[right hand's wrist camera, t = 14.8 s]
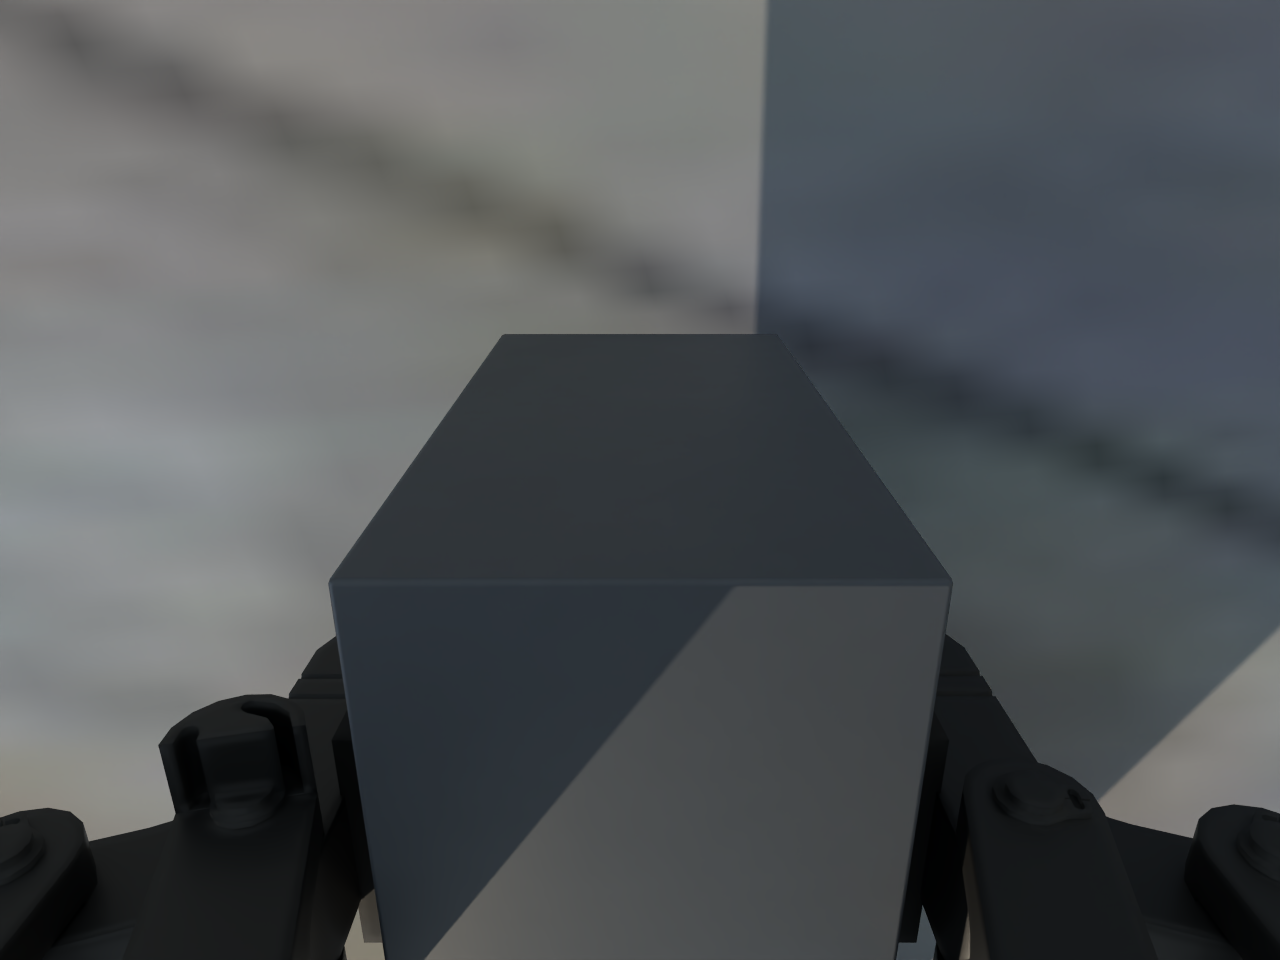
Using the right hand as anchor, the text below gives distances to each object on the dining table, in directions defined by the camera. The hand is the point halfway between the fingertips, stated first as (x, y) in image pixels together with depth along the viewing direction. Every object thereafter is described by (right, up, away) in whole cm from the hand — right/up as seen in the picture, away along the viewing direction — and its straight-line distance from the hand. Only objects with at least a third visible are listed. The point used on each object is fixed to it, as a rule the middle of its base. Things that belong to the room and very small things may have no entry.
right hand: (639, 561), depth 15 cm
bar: (0, -8, +4) cm, 9 cm away
